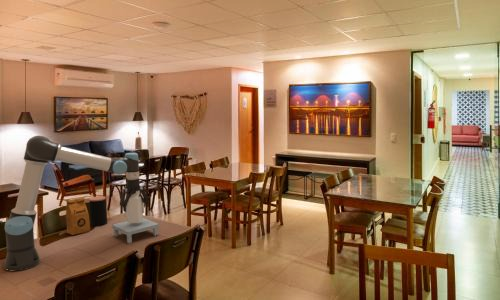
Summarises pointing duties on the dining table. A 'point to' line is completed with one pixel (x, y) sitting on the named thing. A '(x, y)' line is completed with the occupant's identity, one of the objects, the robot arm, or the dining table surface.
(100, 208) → the coffee jar
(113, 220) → the dining table surface
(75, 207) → the coffee package
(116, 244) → the dining table surface
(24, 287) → the dining table surface
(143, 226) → the grey square footed tray
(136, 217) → the milk carton
